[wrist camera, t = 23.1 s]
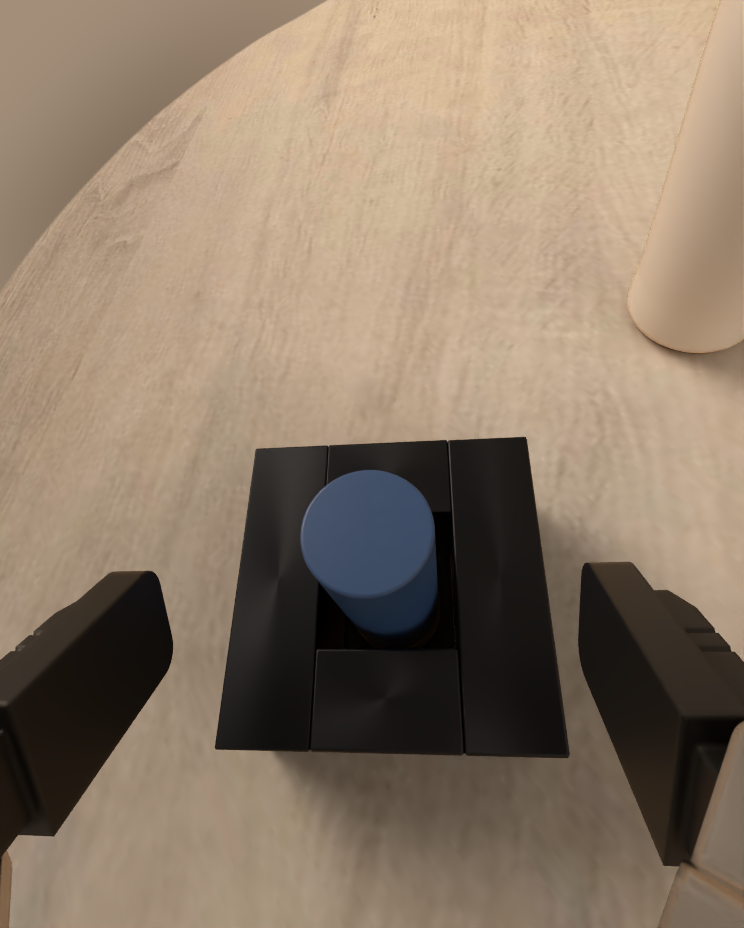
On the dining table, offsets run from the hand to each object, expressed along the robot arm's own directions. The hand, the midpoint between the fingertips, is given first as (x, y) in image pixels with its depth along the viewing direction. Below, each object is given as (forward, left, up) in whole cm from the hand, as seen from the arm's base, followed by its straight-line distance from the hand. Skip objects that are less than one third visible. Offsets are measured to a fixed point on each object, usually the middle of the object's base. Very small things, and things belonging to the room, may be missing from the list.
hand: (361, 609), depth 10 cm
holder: (0, +2, -9) cm, 10 cm away
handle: (0, +2, -9) cm, 10 cm away
